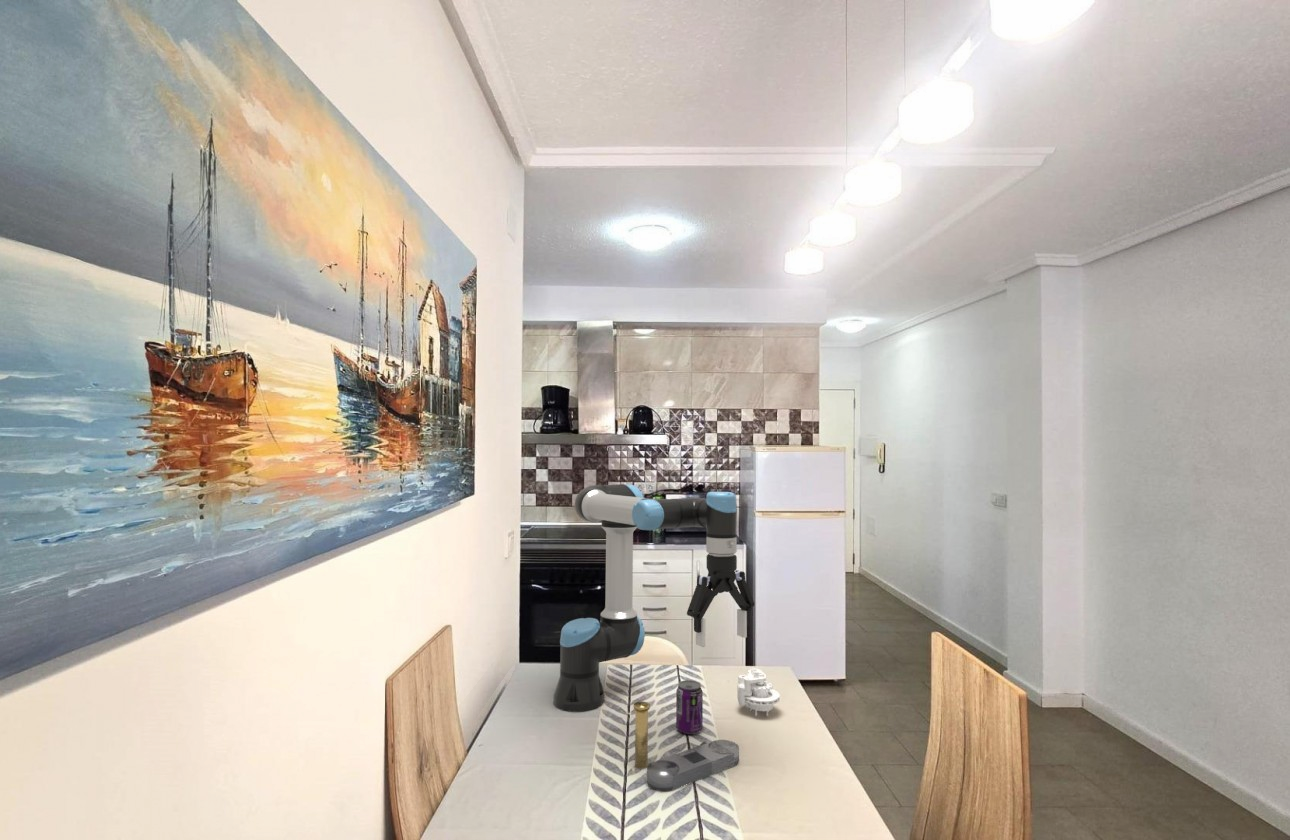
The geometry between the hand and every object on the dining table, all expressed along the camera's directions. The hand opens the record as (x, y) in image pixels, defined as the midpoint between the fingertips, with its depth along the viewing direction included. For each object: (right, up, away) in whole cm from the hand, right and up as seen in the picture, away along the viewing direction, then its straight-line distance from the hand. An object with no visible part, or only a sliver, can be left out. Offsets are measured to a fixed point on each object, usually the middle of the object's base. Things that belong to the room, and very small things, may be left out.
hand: (721, 640), depth 146 cm
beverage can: (-7, -29, +13) cm, 33 cm away
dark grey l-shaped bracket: (-2, -28, +3) cm, 28 cm away
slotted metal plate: (-7, -28, -8) cm, 30 cm away
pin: (-20, -28, -5) cm, 34 cm away
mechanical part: (+14, -30, +25) cm, 41 cm away
